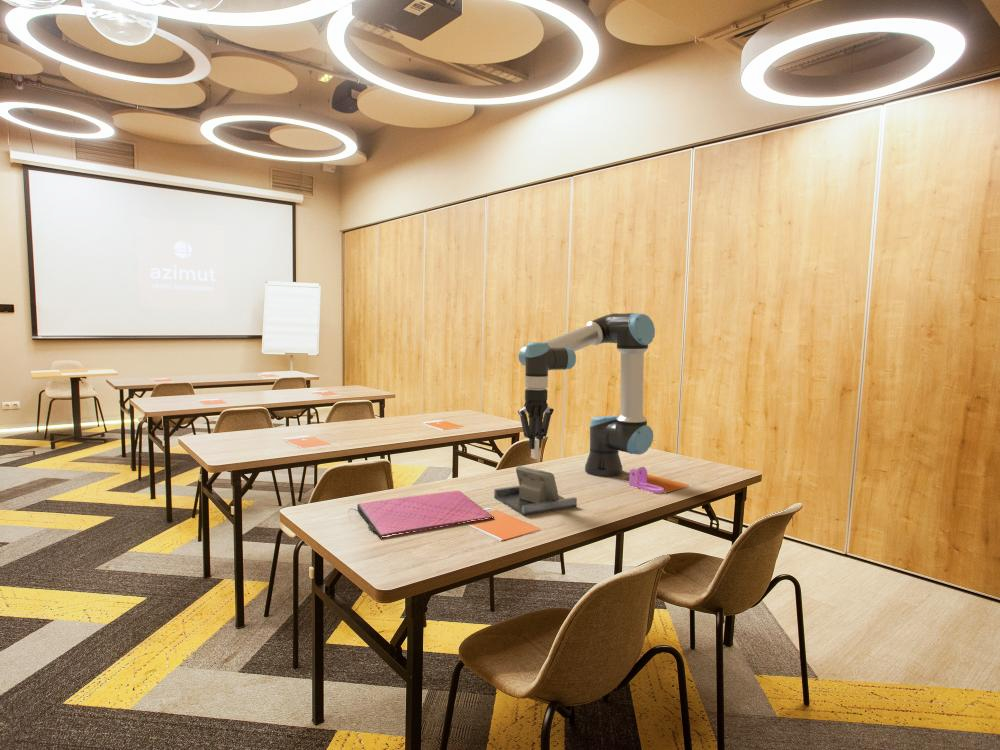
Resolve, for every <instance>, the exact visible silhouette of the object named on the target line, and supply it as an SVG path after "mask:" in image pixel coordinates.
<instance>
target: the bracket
mask: <svg viewBox="0 0 1000 750" xmlns="http://www.w3.org/2000/svg"><path fill="white" fill-rule="evenodd" d="M628 479H629V480H628V481H629V482H628V486H629V485H630V486H629V487H631V486H634V487H637V488H636V489H638V488H640V489H639V490H641V489H643V490H642V491H644V490H646V491H645V492H647V491H649V492H648V493H650V492H653V493H652V494H655V493H661V494H663V493H662V492H664V493H665V491H664V490H665V488H664V487H662V486H660V485H656V484H653V483H649V482H648V470H647V468H646V467H644V466H641V467H638V468H632V469H630V470H629V478H628ZM634 487H633V488H634Z"/></svg>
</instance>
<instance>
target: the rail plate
mask: <svg viewBox="0 0 1000 750" xmlns="http://www.w3.org/2000/svg"><path fill="white" fill-rule="evenodd" d="M519 489H520V485H514V486H506V487H499V488H494V491H493V493H494V494H493V496H494V497H493V498H495V499H496V500H498V501H499V502H501V503H502V502H503V503H502V504H504V505H506V506H507V505H508V506H507V507H509V508H510V507H511V508H510V509H512V510H513V511H515V512H517V513H518V512H519V514H520V515H522V516H524V517H528V516H532V515H533V514H534V515H538V514H539V513H540V514H545V513H544V512H546V513H550V512H557V511H563V510H567V509H574V508H577V506H578V505H577V504H578V503H577V502H578V499H577V497H576V496H573V497H567V498H565V497H563V496H561V495H559V500H553V501H547V502H541V503H533V502H529V501H526V500H522V499H519ZM527 515H528V516H527Z"/></svg>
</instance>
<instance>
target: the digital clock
mask: <svg viewBox="0 0 1000 750" xmlns="http://www.w3.org/2000/svg"><path fill="white" fill-rule="evenodd" d="M515 472H516V476H517V480H518V484H519V485H518V486H520V489H519V499H522V500H526V501H529V502H533V503H541V502H547V501H553V500H559V496H560V494H559V492H558V488H557V482H556V478H555V474H554V473H552V472H549V471H545V470H541V469H537V468H533V467H528V466H523V465H518V466H516V467H515Z"/></svg>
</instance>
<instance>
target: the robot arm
mask: <svg viewBox="0 0 1000 750" xmlns="http://www.w3.org/2000/svg"><path fill="white" fill-rule="evenodd" d="M655 336H656V329H655V324H654V321H652V319H651V317H650V316H648V315H647V314H645V313H638V312H632V313H631V312H629V313H610V314H606V315H604V316H600V317H598V318H596V319H593V320H590V321H588V322H586V324H585V325H584V326H583V327H580V328H577V329H575V330H574V329H573V330H572V331H569V332H567V333H564V334H562V335H559V336H557V337H554V338H551V339H548V340H547V341H544V342H542V341H541V342H539V341H538V342H537V341H536V342H534V341H533V342H531V341H530V342H528V343H526V345H525V346H523V347H522V348H521V349H520V350H519V352H518V361H519V363H520V364H521V365H522V366H525V376H524V377H525V378H524V379H525V383H524V387H525V390H524V401H525V402H524V404H523V408H521V409H518V410H517V414H518V415H519V417H520V423H521V426H522V431H523V437H525V438H526V439H528V441H529V442H528V445H529V449H530V458H532V459H534V460H539V459H540V449H541V448H542V440H543V439H544V438H546V437H547V435H548V430H549V427H550V422H551V417H552V415H553V413H554V408H551V407H550V406H549V404H548V402H547V401H548V393H549V392H548V389H547V388H548V386H549V384H548V383H549V381H548V380H549V371H554V370H555V371H558V370H559V371H560V370H563V371H566V370H570V369H572V368H574V366H575V365H576V362H577V355H576V351H579V350H582V349H584V348H587V347H589V346H591V345H593V346H598V345H601V344H609V343H610V344H616V349H617V351H618V352H619V353H620V407H619V409H620V411H619V412H620V413H619V415H602V416H601V415H598V416H594V417H592V418H591V420H590V426H589V453H588V456H587V459H586V462H585V464H584V471H585V473H587V474H590V475H593V476H599V477H614V476H615V477H617V476H620V475H622V474H623V466H622V462H621V458H620V454H619V452H625V453H627V454H630V455H637V456H638V455H642V454H645V453H646V452H648V450H649V449H650V448H651V445H652V443H653V441H654V431H653V428H652V427H650V426H649V425H648V419H647V417H646V416H644V369H645V367H644V365H645V364H644V363H645V361H644V358H645V357H644V355H645V352H646V351H647V350H649V345H650V344H651V343H652V342H653V341H654V338H655ZM527 414H528V417H527Z"/></svg>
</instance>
